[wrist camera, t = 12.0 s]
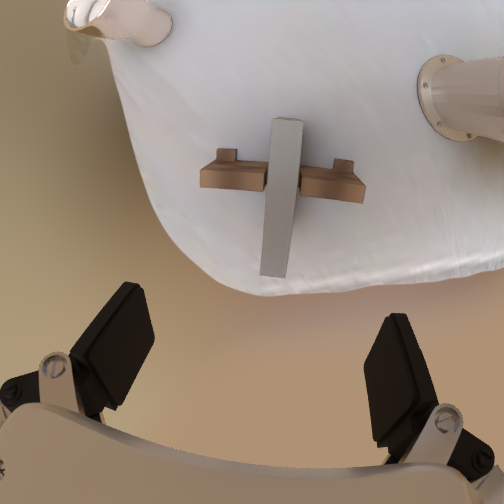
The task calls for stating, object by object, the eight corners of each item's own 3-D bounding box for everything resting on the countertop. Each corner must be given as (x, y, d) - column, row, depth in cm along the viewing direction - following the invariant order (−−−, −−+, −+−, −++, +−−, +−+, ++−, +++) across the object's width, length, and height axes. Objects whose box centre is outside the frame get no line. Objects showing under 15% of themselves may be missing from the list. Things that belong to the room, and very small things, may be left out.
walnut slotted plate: (354, 161, 33) (368, 172, 26) (349, 197, 35) (360, 216, 29) (216, 148, 34) (199, 156, 28) (216, 184, 37) (200, 200, 31)
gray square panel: (298, 119, 31) (303, 121, 19) (288, 221, 38) (285, 278, 26) (279, 117, 31) (272, 118, 19) (271, 219, 38) (259, 275, 26)
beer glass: (181, 8, 25) (124, -31, 12) (168, 50, 28) (101, 28, 15) (139, 9, 25) (74, -18, 12) (126, 49, 28) (55, 36, 15)
